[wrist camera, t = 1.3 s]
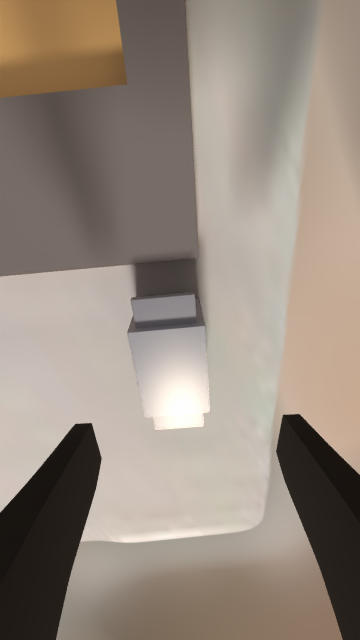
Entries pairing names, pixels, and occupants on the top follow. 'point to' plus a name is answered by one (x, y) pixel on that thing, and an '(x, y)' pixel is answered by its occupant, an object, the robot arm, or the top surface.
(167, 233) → the plate
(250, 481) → the top surface
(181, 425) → the block
